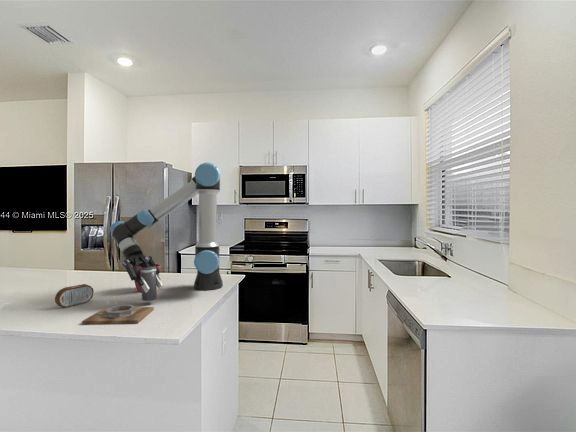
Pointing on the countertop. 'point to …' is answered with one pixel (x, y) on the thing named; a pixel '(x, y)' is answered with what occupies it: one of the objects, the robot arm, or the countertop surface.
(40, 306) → the countertop surface
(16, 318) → the countertop surface
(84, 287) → the tin
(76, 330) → the countertop surface
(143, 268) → the dome-topped grey cylinder
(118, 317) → the mount board
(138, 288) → the plant pot
